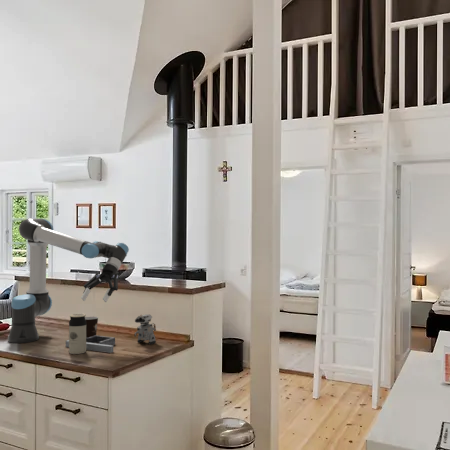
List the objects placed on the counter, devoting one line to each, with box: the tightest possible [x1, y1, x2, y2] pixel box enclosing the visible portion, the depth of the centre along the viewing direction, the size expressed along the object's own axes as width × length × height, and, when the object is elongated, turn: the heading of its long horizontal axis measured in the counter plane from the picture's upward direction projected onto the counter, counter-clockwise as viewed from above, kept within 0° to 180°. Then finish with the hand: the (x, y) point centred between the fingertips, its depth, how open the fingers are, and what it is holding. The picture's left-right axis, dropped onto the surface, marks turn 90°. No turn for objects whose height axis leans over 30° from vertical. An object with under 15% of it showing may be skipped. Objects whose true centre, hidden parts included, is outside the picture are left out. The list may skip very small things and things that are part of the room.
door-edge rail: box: [65, 339, 114, 354], centre depth 245 cm, size 28×2×3 cm, turn 65°
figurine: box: [134, 314, 157, 346], centre depth 257 cm, size 9×12×15 cm
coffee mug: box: [85, 316, 99, 338], centre depth 276 cm, size 12×9×10 cm
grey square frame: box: [86, 334, 116, 346], centre depth 252 cm, size 12×12×4 cm
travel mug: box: [68, 313, 87, 355], centre depth 239 cm, size 8×8×18 cm
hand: (93, 300), depth 251 cm, fingers open, 13 cm apart
